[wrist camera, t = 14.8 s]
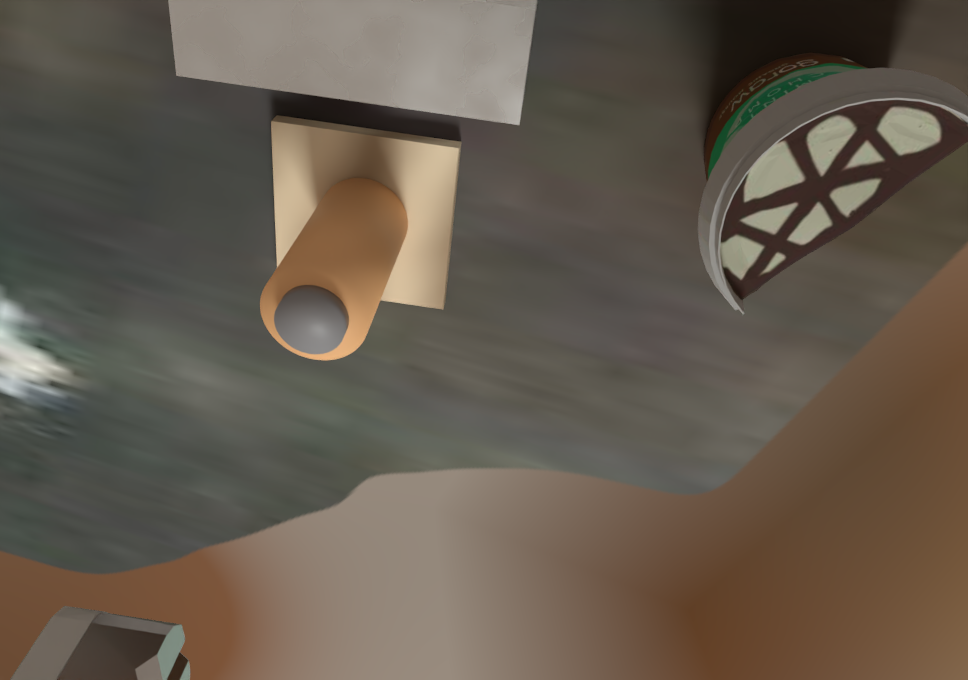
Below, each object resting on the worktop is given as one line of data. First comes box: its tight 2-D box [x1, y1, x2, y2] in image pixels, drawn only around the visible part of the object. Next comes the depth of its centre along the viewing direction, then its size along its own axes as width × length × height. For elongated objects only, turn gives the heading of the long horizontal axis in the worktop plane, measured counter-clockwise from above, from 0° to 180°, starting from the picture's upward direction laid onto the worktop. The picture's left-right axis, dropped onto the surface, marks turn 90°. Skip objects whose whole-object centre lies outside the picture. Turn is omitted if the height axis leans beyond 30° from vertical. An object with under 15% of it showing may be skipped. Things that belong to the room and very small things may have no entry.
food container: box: [698, 53, 968, 314], centre depth 35 cm, size 12×6×10 cm, turn 136°
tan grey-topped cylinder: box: [260, 178, 408, 360], centre depth 39 cm, size 5×5×11 cm
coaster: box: [271, 115, 461, 309], centre depth 44 cm, size 10×10×1 cm
